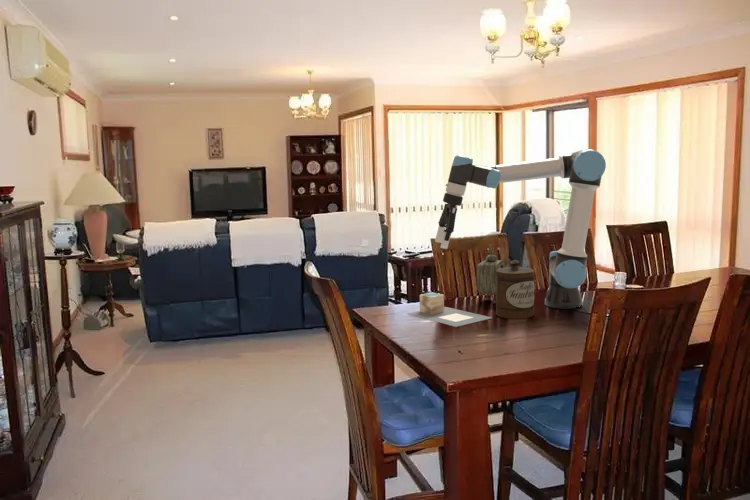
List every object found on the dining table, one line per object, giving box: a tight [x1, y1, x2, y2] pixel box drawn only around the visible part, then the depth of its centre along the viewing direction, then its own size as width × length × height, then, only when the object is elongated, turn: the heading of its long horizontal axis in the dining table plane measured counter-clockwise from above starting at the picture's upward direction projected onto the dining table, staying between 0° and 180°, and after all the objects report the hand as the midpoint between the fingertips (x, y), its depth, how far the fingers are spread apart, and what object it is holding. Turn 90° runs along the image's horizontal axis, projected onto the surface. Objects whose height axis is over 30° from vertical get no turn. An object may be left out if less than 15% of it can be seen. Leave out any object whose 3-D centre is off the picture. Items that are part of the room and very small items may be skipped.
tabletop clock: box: [476, 243, 506, 304], centre depth 285 cm, size 14×9×25 cm, turn 154°
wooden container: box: [495, 259, 535, 320], centre depth 259 cm, size 15×15×22 cm
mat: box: [407, 306, 493, 328], centre depth 261 cm, size 29×20×1 cm
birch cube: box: [419, 292, 445, 314], centre depth 268 cm, size 7×7×7 cm
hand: (440, 245), depth 265 cm, fingers open, 13 cm apart
